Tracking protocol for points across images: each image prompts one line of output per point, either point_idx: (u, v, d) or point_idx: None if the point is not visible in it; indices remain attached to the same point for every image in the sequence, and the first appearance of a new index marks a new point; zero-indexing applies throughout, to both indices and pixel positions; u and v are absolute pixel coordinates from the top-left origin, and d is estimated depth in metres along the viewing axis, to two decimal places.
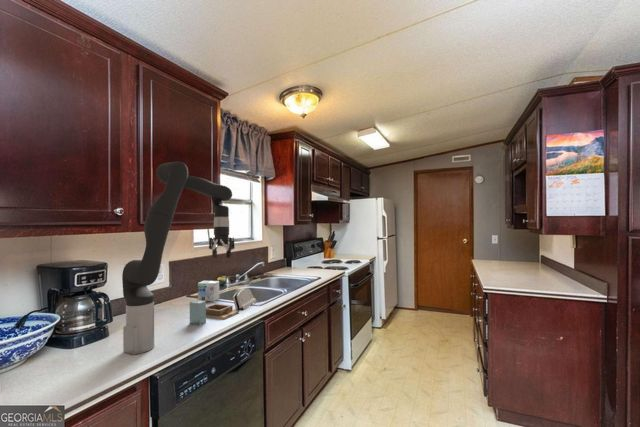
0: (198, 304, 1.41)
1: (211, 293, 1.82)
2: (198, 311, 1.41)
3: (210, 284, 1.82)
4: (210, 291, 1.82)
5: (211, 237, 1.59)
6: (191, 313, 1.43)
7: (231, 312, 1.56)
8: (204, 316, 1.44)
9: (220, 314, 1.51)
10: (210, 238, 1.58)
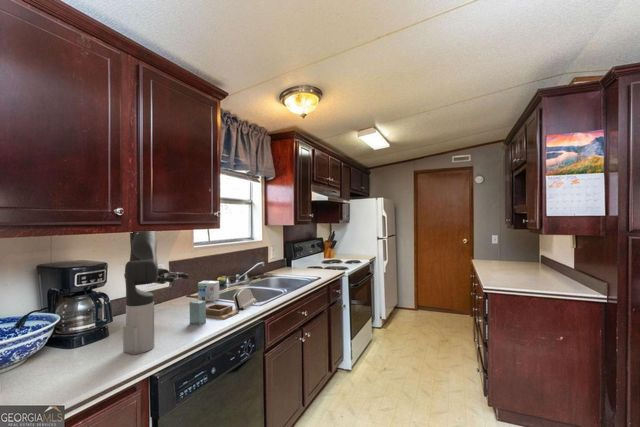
0: (198, 304, 1.41)
1: (211, 293, 1.82)
2: (198, 311, 1.41)
3: (210, 284, 1.82)
4: (210, 291, 1.82)
5: None
6: (191, 313, 1.43)
7: (231, 312, 1.56)
8: (204, 316, 1.44)
9: (220, 314, 1.51)
10: None
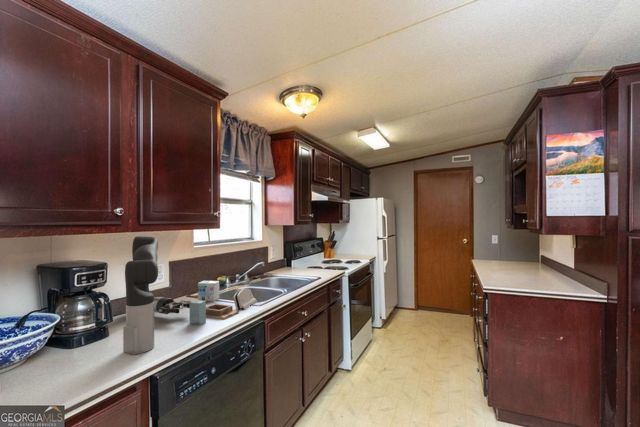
0: (198, 304, 1.41)
1: (211, 293, 1.82)
2: (198, 311, 1.41)
3: (210, 284, 1.82)
4: (210, 291, 1.82)
5: None
6: (191, 313, 1.43)
7: (231, 312, 1.56)
8: (204, 316, 1.44)
9: (220, 314, 1.51)
10: (160, 307, 1.46)
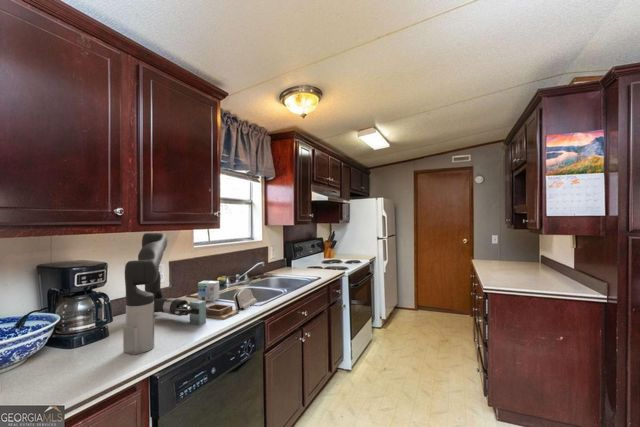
0: (198, 304, 1.41)
1: (211, 293, 1.82)
2: None
3: (210, 284, 1.82)
4: (210, 291, 1.82)
5: None
6: None
7: (231, 312, 1.56)
8: (204, 316, 1.44)
9: (220, 314, 1.51)
10: (176, 309, 1.42)
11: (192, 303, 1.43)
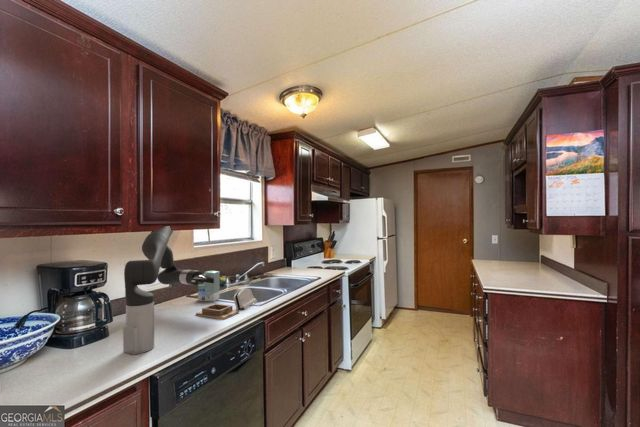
0: (213, 273, 1.52)
1: (211, 293, 1.82)
2: None
3: None
4: None
5: (191, 280, 1.52)
6: None
7: (231, 312, 1.56)
8: (218, 285, 1.54)
9: (220, 314, 1.51)
10: (192, 278, 1.52)
11: (207, 273, 1.53)
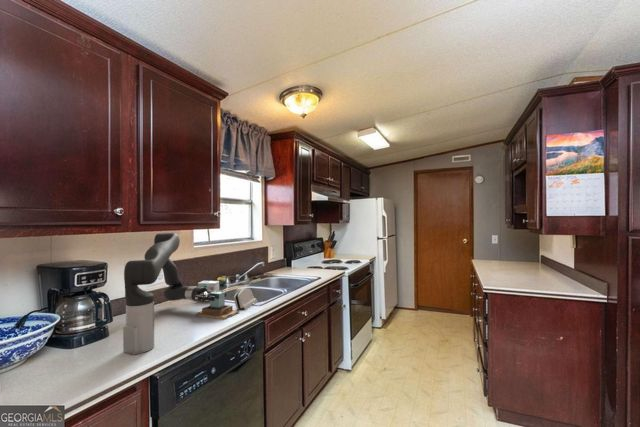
0: (218, 294, 1.54)
1: None
2: (218, 301, 1.54)
3: (210, 284, 1.82)
4: None
5: None
6: (211, 303, 1.56)
7: (231, 312, 1.56)
8: (223, 306, 1.57)
9: (220, 314, 1.51)
10: (196, 295, 1.55)
11: (212, 294, 1.56)
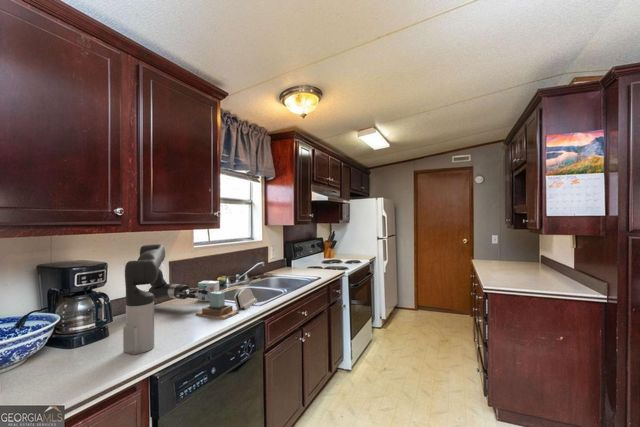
0: (218, 294, 1.54)
1: None
2: (218, 301, 1.54)
3: (210, 284, 1.82)
4: (210, 291, 1.82)
5: (177, 294, 1.61)
6: (211, 303, 1.56)
7: (231, 312, 1.56)
8: (223, 306, 1.57)
9: (220, 314, 1.51)
10: (178, 292, 1.60)
11: (212, 294, 1.56)
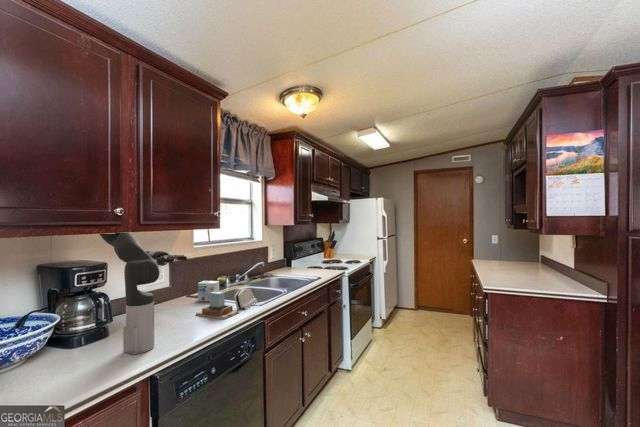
0: (218, 294, 1.54)
1: None
2: (218, 301, 1.54)
3: (210, 284, 1.82)
4: (210, 291, 1.82)
5: None
6: (211, 303, 1.56)
7: (231, 312, 1.56)
8: (223, 306, 1.57)
9: (220, 314, 1.51)
10: (155, 257, 1.56)
11: (212, 294, 1.56)
